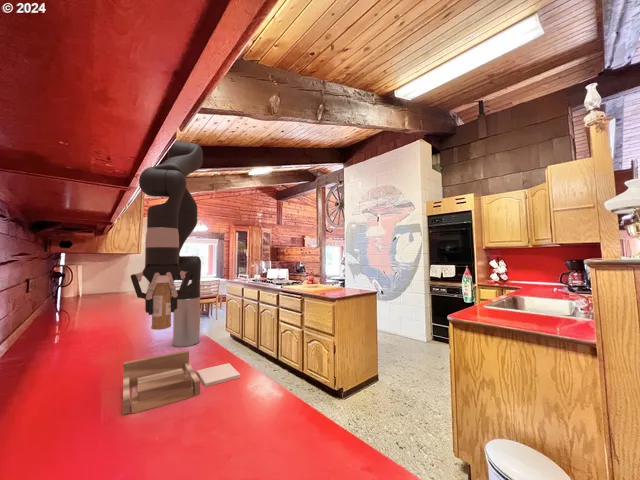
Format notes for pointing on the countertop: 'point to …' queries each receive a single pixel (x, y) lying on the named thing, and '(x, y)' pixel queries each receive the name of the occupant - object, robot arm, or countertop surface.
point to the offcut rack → (159, 381)
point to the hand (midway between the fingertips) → (161, 312)
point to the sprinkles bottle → (161, 304)
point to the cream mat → (217, 374)
